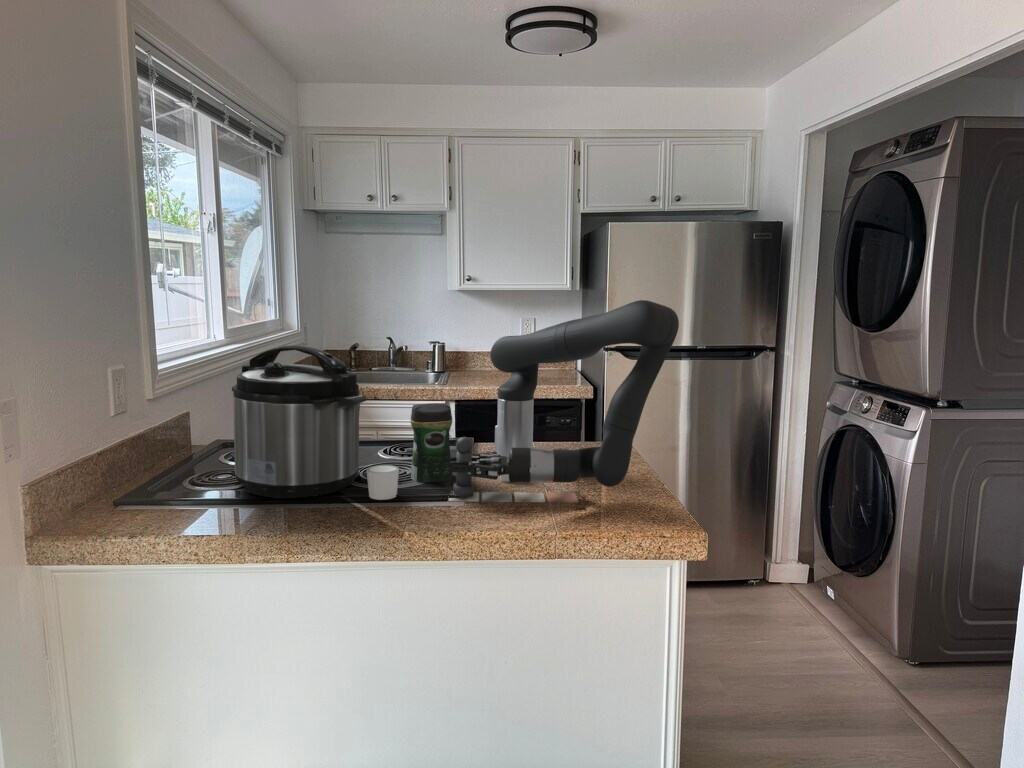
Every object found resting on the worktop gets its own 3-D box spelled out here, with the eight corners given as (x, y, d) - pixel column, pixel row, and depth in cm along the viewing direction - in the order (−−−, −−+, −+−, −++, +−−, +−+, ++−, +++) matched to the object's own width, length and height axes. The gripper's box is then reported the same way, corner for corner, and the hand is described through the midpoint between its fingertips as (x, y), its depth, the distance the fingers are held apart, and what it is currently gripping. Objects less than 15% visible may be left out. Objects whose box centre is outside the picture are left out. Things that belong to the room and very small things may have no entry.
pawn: (449, 492, 148) (449, 436, 146) (466, 489, 151) (466, 433, 149) (461, 498, 145) (461, 440, 143) (478, 494, 148) (479, 437, 146)
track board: (441, 508, 143) (441, 503, 143) (444, 494, 153) (444, 489, 153) (585, 510, 144) (585, 505, 144) (579, 495, 154) (579, 490, 154)
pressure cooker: (386, 490, 154) (385, 349, 150) (256, 512, 138) (250, 355, 134) (337, 460, 179) (335, 338, 174) (221, 476, 162) (215, 342, 158)
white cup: (405, 498, 149) (405, 466, 148) (387, 507, 143) (386, 474, 142) (379, 493, 152) (379, 462, 151) (360, 502, 146) (359, 470, 145)
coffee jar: (447, 475, 168) (448, 399, 165) (455, 484, 160) (456, 405, 157) (407, 478, 164) (407, 401, 162) (414, 487, 157) (414, 407, 154)
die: (500, 485, 160) (500, 464, 159) (499, 479, 165) (500, 458, 164) (521, 486, 160) (522, 464, 159) (520, 479, 165) (521, 459, 164)
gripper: (529, 440, 154) (452, 439, 153) (534, 456, 140) (448, 455, 139) (528, 473, 155) (451, 472, 154) (533, 492, 141) (448, 491, 140)
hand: (450, 464), depth 147 cm, fingers closed on pawn, 3 cm apart
